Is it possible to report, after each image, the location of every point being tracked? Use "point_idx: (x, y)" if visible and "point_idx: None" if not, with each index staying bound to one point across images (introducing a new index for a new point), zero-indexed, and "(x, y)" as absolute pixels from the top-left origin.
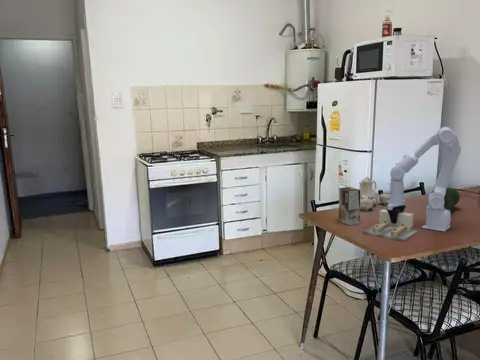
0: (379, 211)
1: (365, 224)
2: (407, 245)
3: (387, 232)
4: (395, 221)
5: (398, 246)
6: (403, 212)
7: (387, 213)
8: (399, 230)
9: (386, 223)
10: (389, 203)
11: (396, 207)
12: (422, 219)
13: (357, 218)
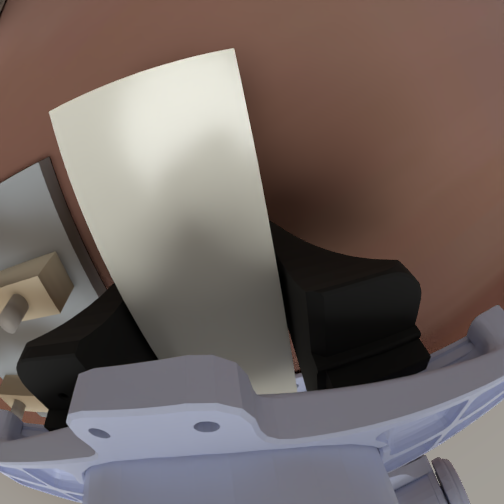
0: (52, 113)
1: (11, 60)
2: (39, 421)
3: (7, 345)
4: None
5: (8, 407)
6: (287, 377)
7: (110, 254)
8: (45, 409)
9: (23, 318)
10: (56, 459)
11: (309, 346)
12: (464, 265)
13: None
